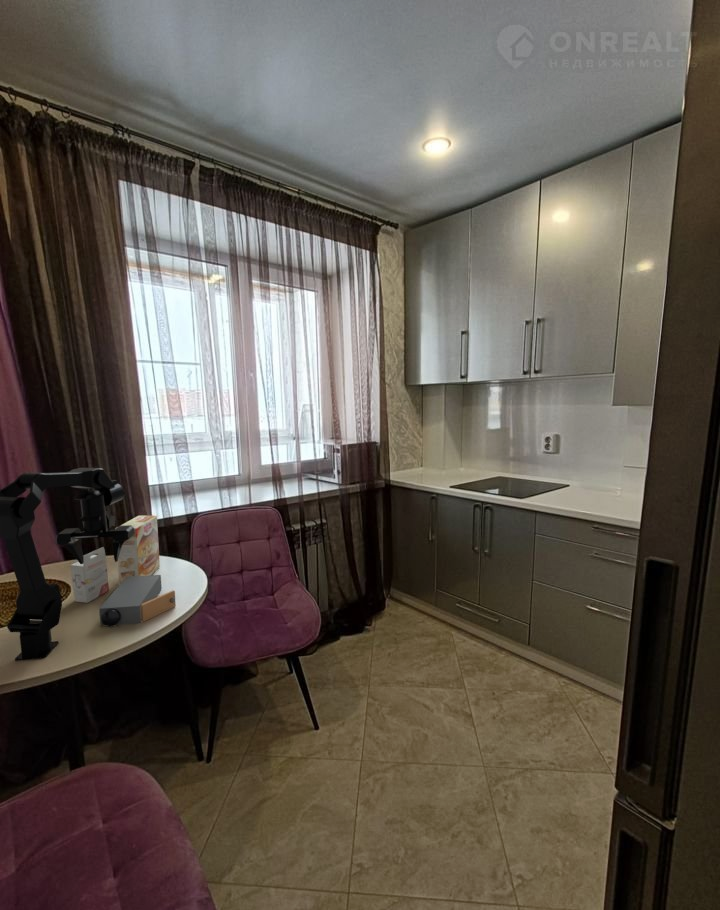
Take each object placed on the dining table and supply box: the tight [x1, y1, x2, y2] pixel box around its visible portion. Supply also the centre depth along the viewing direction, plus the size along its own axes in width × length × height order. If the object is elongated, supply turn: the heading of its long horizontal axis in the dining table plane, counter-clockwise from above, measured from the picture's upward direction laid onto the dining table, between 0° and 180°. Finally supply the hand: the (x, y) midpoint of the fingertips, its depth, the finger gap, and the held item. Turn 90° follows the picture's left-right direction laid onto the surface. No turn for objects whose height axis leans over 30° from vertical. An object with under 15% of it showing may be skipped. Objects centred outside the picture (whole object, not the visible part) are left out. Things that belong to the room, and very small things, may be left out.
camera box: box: [98, 574, 163, 627], centre depth 122 cm, size 21×10×5 cm, turn 10°
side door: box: [141, 589, 177, 622], centre depth 118 cm, size 10×2×5 cm, turn 150°
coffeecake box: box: [114, 515, 161, 586], centre depth 142 cm, size 15×7×20 cm, turn 1°
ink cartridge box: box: [70, 546, 110, 604], centre depth 128 cm, size 9×5×15 cm, turn 168°
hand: (99, 562), depth 121 cm, fingers open, 9 cm apart
